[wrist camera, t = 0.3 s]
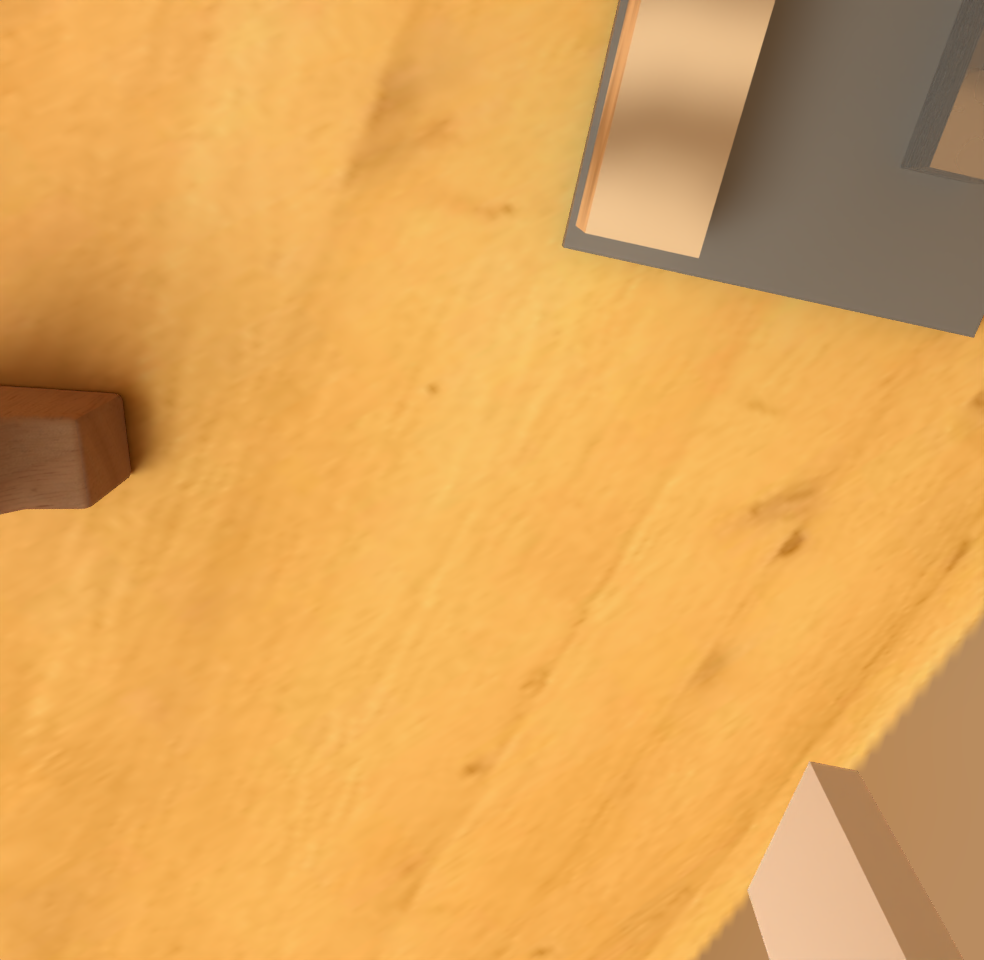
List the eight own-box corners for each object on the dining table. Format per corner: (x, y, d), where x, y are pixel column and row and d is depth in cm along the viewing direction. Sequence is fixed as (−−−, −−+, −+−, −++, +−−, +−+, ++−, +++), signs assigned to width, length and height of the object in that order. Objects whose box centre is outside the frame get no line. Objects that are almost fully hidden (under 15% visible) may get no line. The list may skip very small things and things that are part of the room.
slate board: (712, -402, 27) (719, -422, 26) (1222, -267, 28) (1247, -282, 27) (562, 245, 35) (563, 247, 34) (961, 333, 36) (973, 337, 35)
